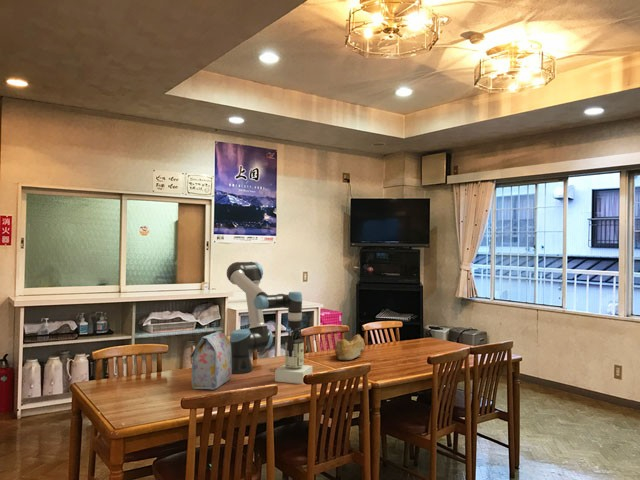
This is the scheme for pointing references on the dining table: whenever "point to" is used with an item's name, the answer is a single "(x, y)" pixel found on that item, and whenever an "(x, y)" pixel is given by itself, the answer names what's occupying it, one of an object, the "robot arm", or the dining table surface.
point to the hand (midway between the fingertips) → (294, 360)
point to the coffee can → (295, 354)
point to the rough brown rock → (349, 348)
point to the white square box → (292, 374)
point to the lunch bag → (211, 361)
